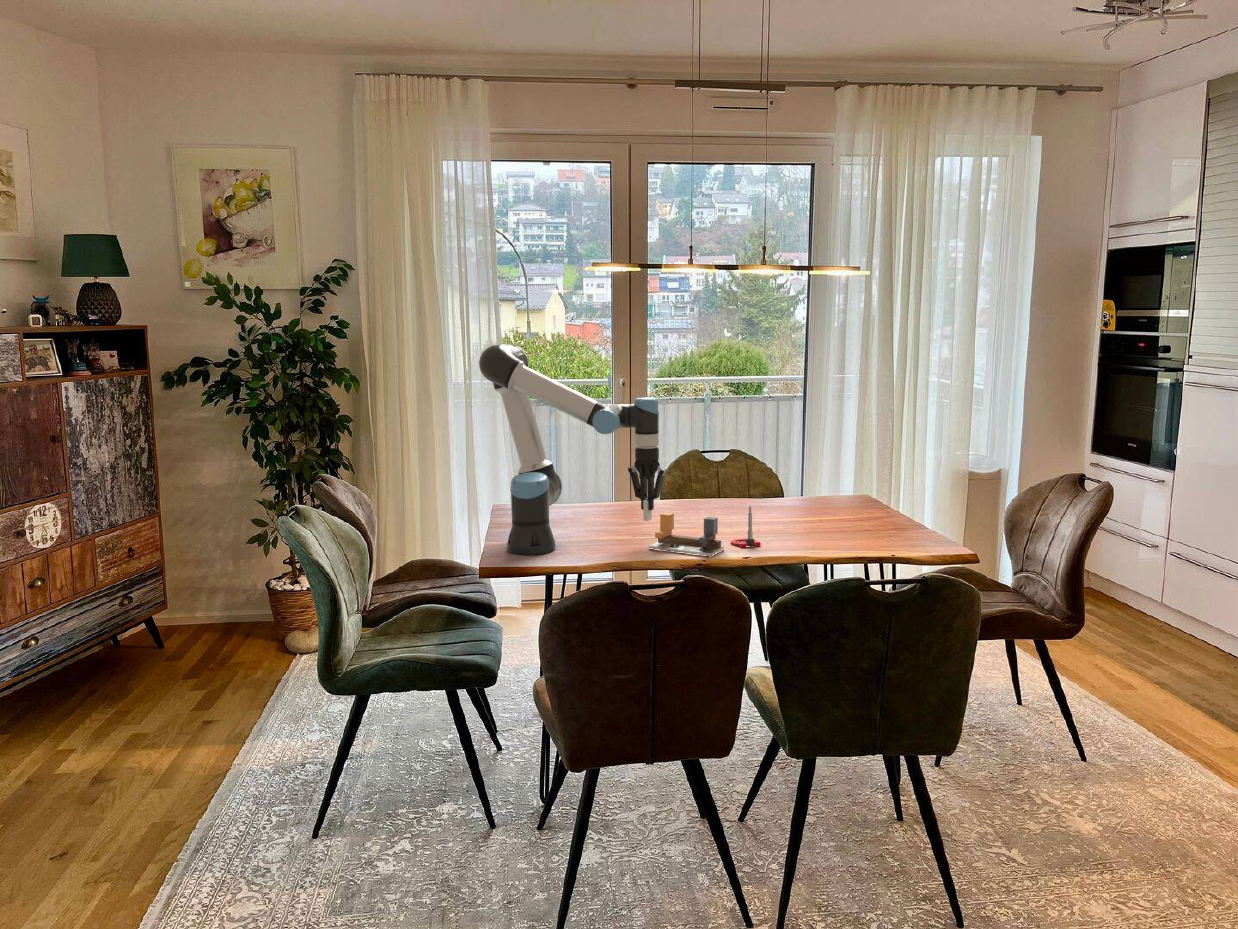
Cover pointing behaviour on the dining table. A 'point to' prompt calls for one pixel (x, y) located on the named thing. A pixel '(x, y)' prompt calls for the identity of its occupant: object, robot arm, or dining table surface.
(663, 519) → the orange toy chair
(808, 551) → the dining table surface
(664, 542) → the bolt plate
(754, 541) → the tow hook
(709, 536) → the fixed leg
